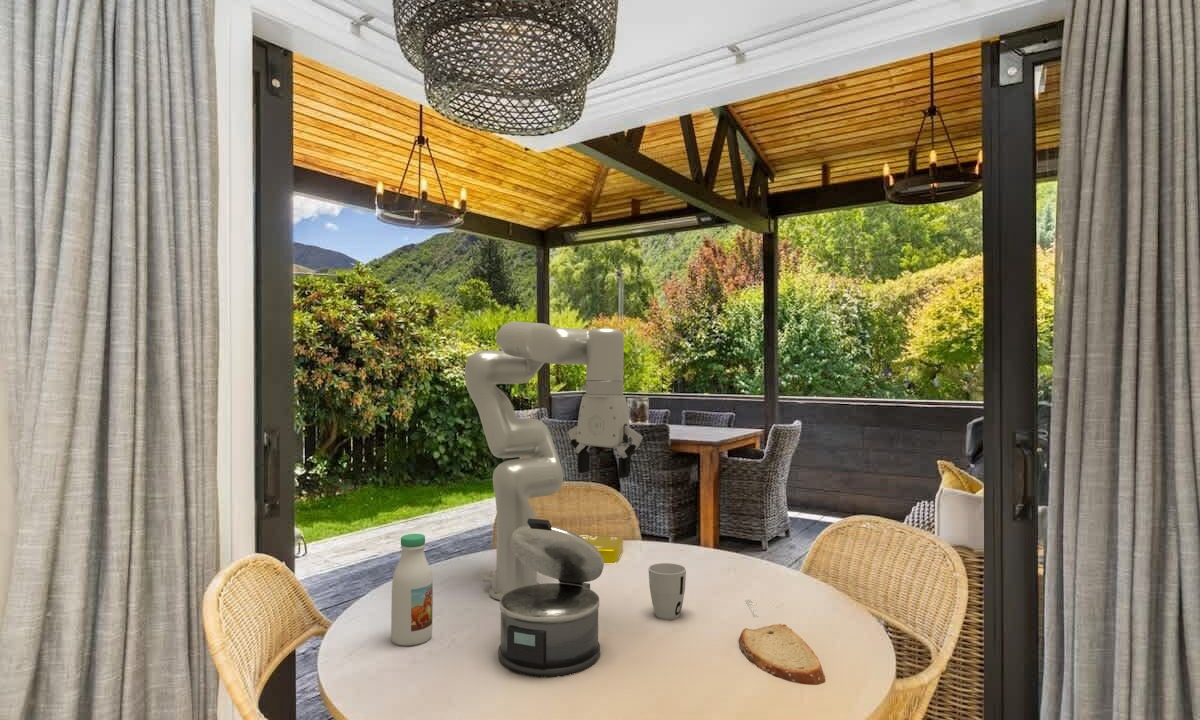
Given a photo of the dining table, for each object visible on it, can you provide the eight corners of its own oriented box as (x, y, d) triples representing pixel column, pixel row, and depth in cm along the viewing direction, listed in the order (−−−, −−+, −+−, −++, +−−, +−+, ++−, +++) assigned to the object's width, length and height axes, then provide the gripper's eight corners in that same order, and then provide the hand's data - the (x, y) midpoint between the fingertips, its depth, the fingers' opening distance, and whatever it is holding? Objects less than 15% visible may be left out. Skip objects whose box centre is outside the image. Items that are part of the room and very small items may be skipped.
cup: (684, 623, 133) (684, 575, 133) (646, 620, 134) (646, 572, 135) (687, 609, 141) (687, 564, 141) (650, 607, 142) (650, 561, 143)
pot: (477, 667, 112) (477, 609, 113) (535, 622, 133) (535, 574, 133) (574, 686, 105) (574, 625, 106) (619, 636, 126) (619, 585, 126)
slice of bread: (820, 690, 105) (820, 667, 105) (717, 664, 114) (717, 643, 115) (843, 651, 120) (843, 631, 120) (751, 631, 130) (751, 612, 130)
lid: (491, 519, 117) (497, 507, 119) (530, 579, 130) (534, 567, 132) (584, 528, 110) (588, 515, 112) (614, 590, 124) (617, 577, 125)
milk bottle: (394, 650, 119) (396, 542, 120) (388, 635, 126) (389, 533, 127) (436, 642, 123) (437, 538, 123) (427, 628, 130) (428, 529, 130)
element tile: (563, 563, 177) (563, 545, 178) (574, 549, 192) (574, 533, 192) (616, 566, 175) (616, 548, 175) (623, 551, 190) (623, 535, 190)
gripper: (559, 388, 130) (558, 472, 130) (631, 391, 120) (630, 482, 120) (580, 388, 136) (579, 468, 136) (651, 390, 127) (650, 476, 126)
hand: (603, 474), depth 128 cm, fingers open, 9 cm apart
